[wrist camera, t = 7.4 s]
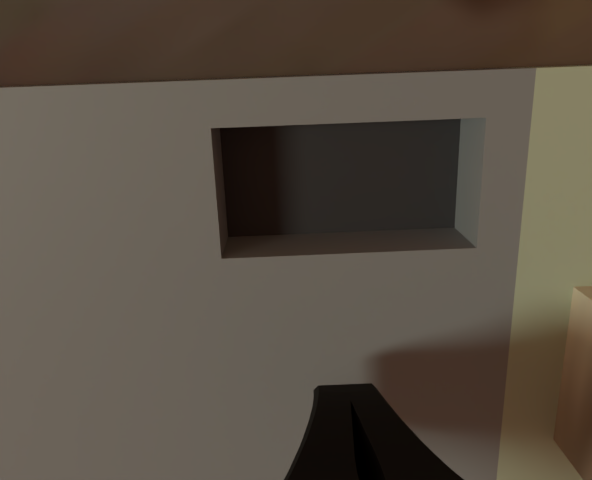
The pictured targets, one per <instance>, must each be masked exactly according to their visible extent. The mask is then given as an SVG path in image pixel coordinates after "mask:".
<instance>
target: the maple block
mask: <svg viewBox="0 0 592 480" xmlns="http://www.w3.org/2000/svg"><path fill="white" fill-rule="evenodd" d="M553 439H554V441H555V442H556V444H557V445H558V446H559V448H560V449H561V450H562V452H563V453H564V454H565V456H566V457H567V459H568V460H569V461H570V463H571V464H572V465H573V467H574V468H575V469H576V471H577V472H578V473H579V475H580V476H581V478H582V479H583V480H592V286H579V287H573V294H572V301H571V309H570V316H569V324H568V331H567V339H566V347H565V354H564V362H563V369H562V377H561V384H560V392H559V399H558V407H557V415H556V422H555V430H554V437H553Z"/></svg>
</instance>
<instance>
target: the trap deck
mask: <svg viewBox="0 0 592 480" xmlns="http://www.w3.org/2000/svg"><path fill="white" fill-rule="evenodd" d="M579 286H592V65H568V66H541V67H514V68H487V69H460V70H432V71H405V72H378V73H351V74H324V75H297V76H269V77H242V78H215V79H188V80H161V81H134V82H106V83H79V84H52V85H25V86H0V480H284V478H285V476H286V475H287V473H288V471H289V469H290V467H291V464H292V462H293V460H294V458H295V455H296V453H297V451H298V449H299V447H300V444H301V442H302V439H303V436H304V433H305V430H306V427H307V424H308V422H309V418H310V414H311V410H312V406H313V399H314V393H313V390H314V389H315V388H316V387H317V386H318V385H341V384H365V383H372V384H373V385H374V386H375V387H376V388H377V389H378V391H379V392H380V393H381V395H382V396H383V397H384V399H385V400H386V401H387V402H388V404H389V405H390V406H391V407H392V408H393V410H394V411H395V412H396V413H397V414H398V416H399V417H400V418H401V419H402V420H403V421H404V422H405V424H406V425H407V426H408V427H409V428H410V429H411V430H412V431H413V432H414V433H415V434H416V435H417V436H418V438H419V439H420V440H421V441H422V442H423V443H424V444H425V445H426V446H427V447H428V448H429V449H430V450H431V451H432V452H433V453H434V454H435V455H436V456H438V457H439V458H440V459H441V460H442V461H443V462H444V463H445V464H446V465H447V466H448V467H449V468H451V469H452V470H453V471H454V472H455V473H456V474H458V475H459V476H460V477H461V478H463V479H464V480H583V479H582V478H581V476H580V475H579V473H578V472H577V471H576V469H575V468H574V467H573V465H572V464H571V463H570V461H569V460H568V459H567V457H566V456H565V454H564V453H563V452H562V450H561V449H560V448H559V446H558V445H557V444H556V442H555V441H554V439H553V437H554V430H555V422H556V415H557V407H558V399H559V392H560V384H561V377H562V369H563V362H564V354H565V347H566V339H567V331H568V324H569V316H570V309H571V301H572V294H573V287H579Z"/></svg>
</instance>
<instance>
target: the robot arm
mask: <svg viewBox="0 0 592 480" xmlns="http://www.w3.org/2000/svg"><path fill="white" fill-rule="evenodd" d="M313 393H314V399H313V406H312V410H311V414H310V418H309V422H308V424H307V427H306V430H305V433H304V436H303V439H302V442H301V444H300V447H299V449H298V451H297V453H296V455H295V458H294V460H293V462H292V464H291V467H290V469H289V471H288V473H287V475H286V476H285V478H284V480H464V479H463V478H461V477H460V476H459V475H458V474H456V473H455V472H454V471H453V470H452V469H451V468H449V467H448V466H447V465H446V464H445V463H444V462H443V461H442V460H441V459H440V458H439V457H438V456H436V455H435V454H434V453H433V452H432V451H431V450H430V449H429V448H428V447H427V446H426V445H425V444H424V443H423V442H422V441H421V440H420V439H419V438H418V436H417V435H416V434H415V433H414V432H413V431H412V430H411V429H410V428H409V427H408V426H407V425H406V424H405V422H404V421H403V420H402V419H401V418H400V417H399V416H398V414H397V413H396V412H395V411H394V410H393V408H392V407H391V406H390V405H389V404H388V402H387V401H386V400H385V399H384V397H383V396H382V395H381V393H380V392H379V391H378V389H377V388H376V387H375V386H374V385H373V384H372V383H365V384H341V385H318V386H317V387H316V388H315V389H314V390H313Z"/></svg>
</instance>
